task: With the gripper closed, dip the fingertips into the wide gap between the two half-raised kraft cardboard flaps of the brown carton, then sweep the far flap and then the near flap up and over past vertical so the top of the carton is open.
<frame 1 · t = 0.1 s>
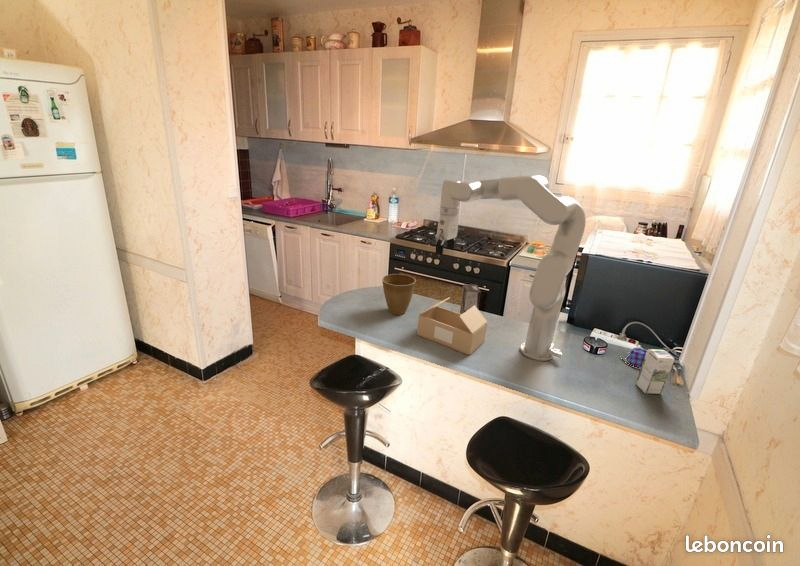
hand: (444, 251, 164), 31 cm above the countertop, tool pointing down, fingers open, 9 cm apart
far flap: (434, 305, 158), point 12 cm above the countertop, hinge at 40.0°
carton: (450, 338, 158), on the countertop
plant pot: (397, 311, 179), on the countertop
near flap: (473, 318, 149), point 12 cm above the countertop, hinge at 40.0°
syrup box: (647, 389, 134), on the countertop
purple plaid hat: (637, 363, 150), on the countertop
coffee box: (467, 321, 174), on the countertop
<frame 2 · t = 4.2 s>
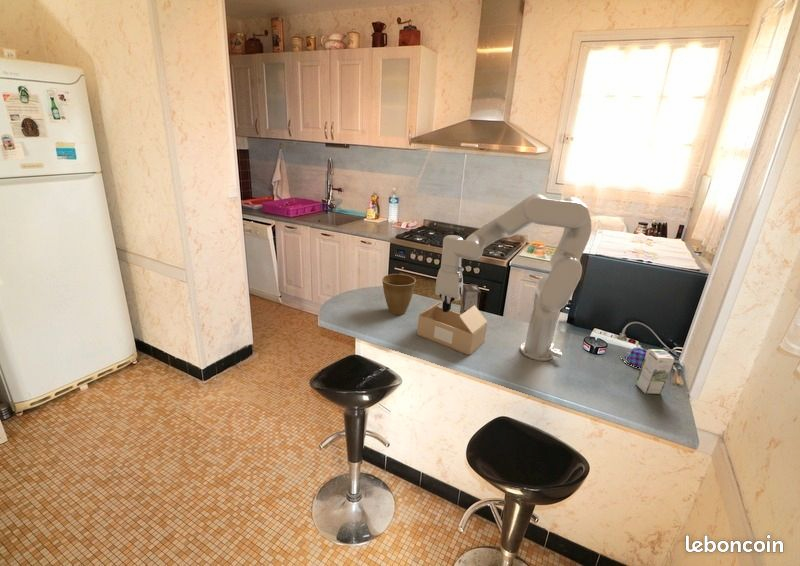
hand: (446, 310, 156), 11 cm above the countertop, tool pointing down, fingers closed
far flap: (434, 305, 158), point 12 cm above the countertop, hinge at 40.3°, touching gripper
everything else where it was.
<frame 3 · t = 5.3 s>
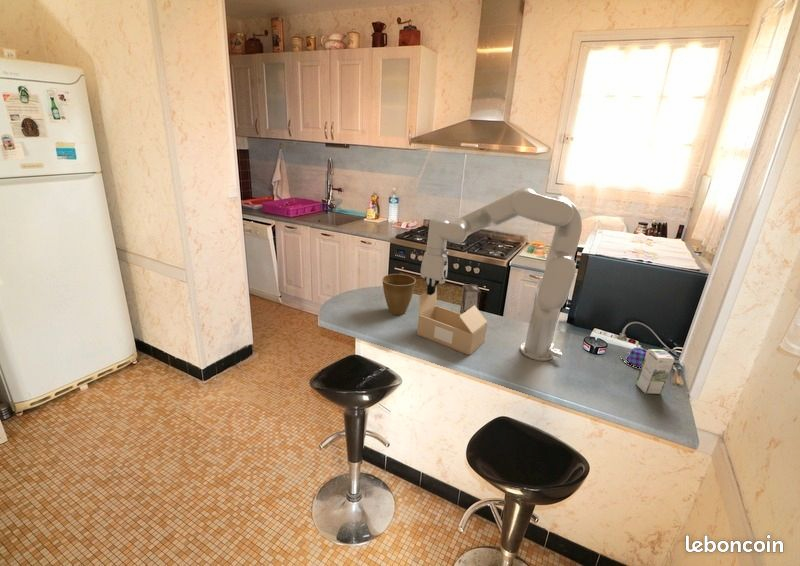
hand: (430, 293, 158), 17 cm above the countertop, tool pointing down, fingers closed
far flap: (428, 300, 160), point 13 cm above the countertop, hinge at 94.9°, touching gripper
everything else where it was.
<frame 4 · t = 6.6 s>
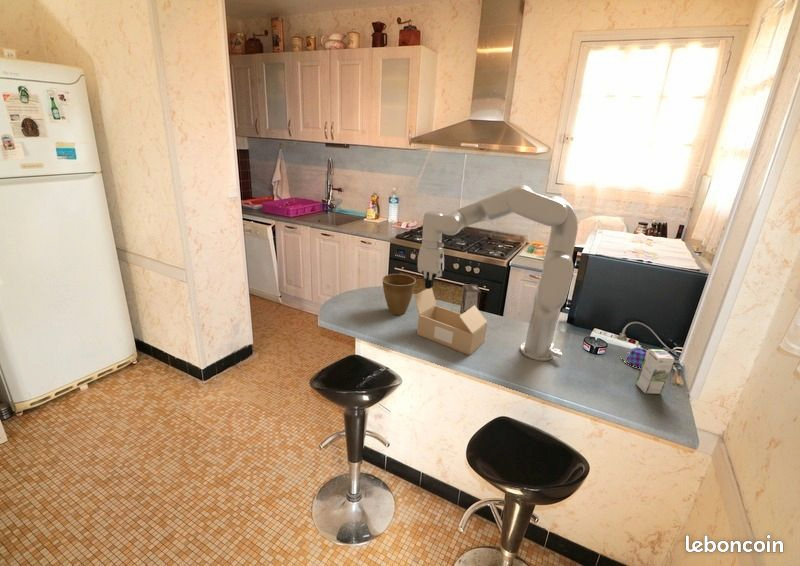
hand: (428, 287, 158), 19 cm above the countertop, tool pointing down, fingers closed
far flap: (425, 300, 160), point 13 cm above the countertop, hinge at 113.2°
everything else where it was.
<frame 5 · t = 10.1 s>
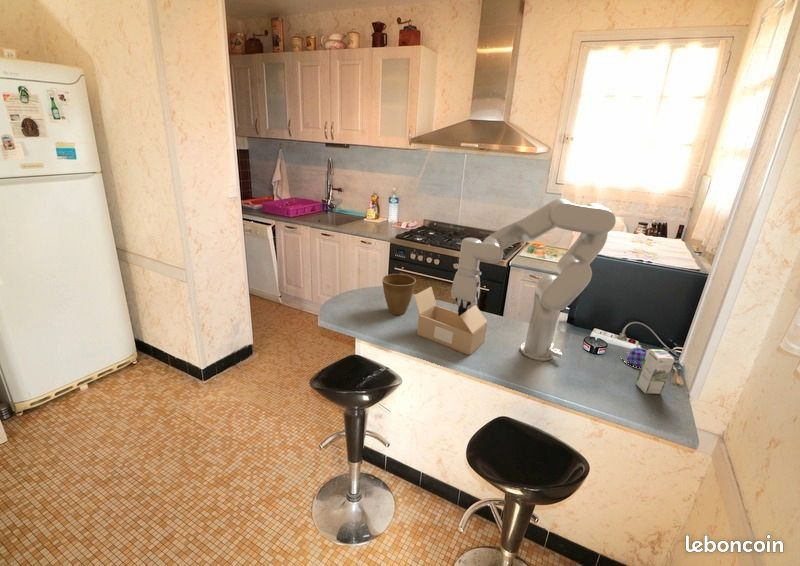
hand: (461, 315, 152), 12 cm above the countertop, tool pointing down, fingers closed
far flap: (425, 300, 160), point 13 cm above the countertop, hinge at 113.7°
near flap: (473, 318, 149), point 12 cm above the countertop, hinge at 43.5°, touching gripper
everything else where it was.
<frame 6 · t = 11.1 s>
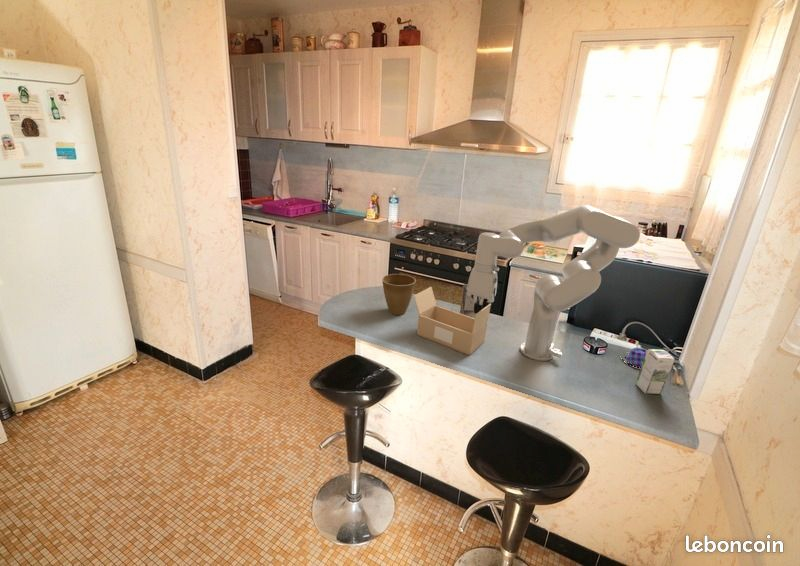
hand: (477, 312, 147), 15 cm above the countertop, tool pointing down, fingers closed
near flap: (481, 318, 147), point 13 cm above the countertop, hinge at 93.1°, touching gripper
everything else where it was.
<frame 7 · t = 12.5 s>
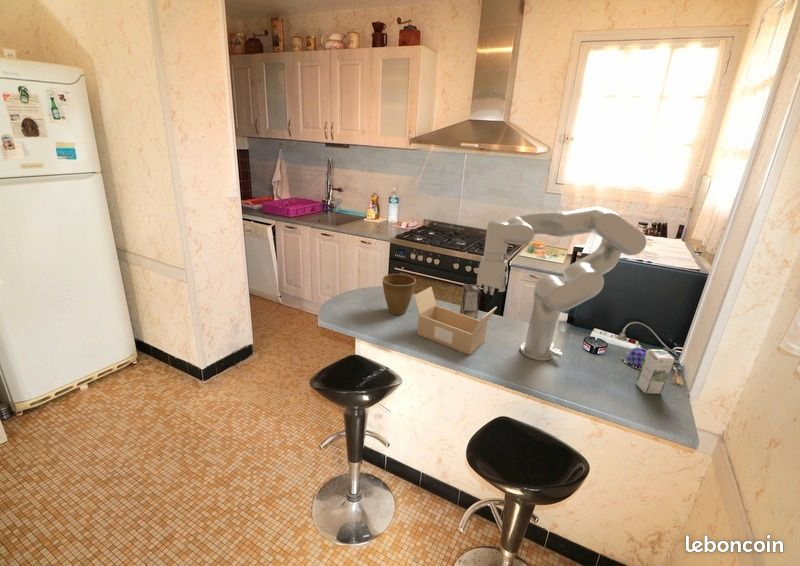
hand: (488, 302, 144), 20 cm above the countertop, tool pointing down, fingers closed
near flap: (484, 319, 146), point 13 cm above the countertop, hinge at 111.6°
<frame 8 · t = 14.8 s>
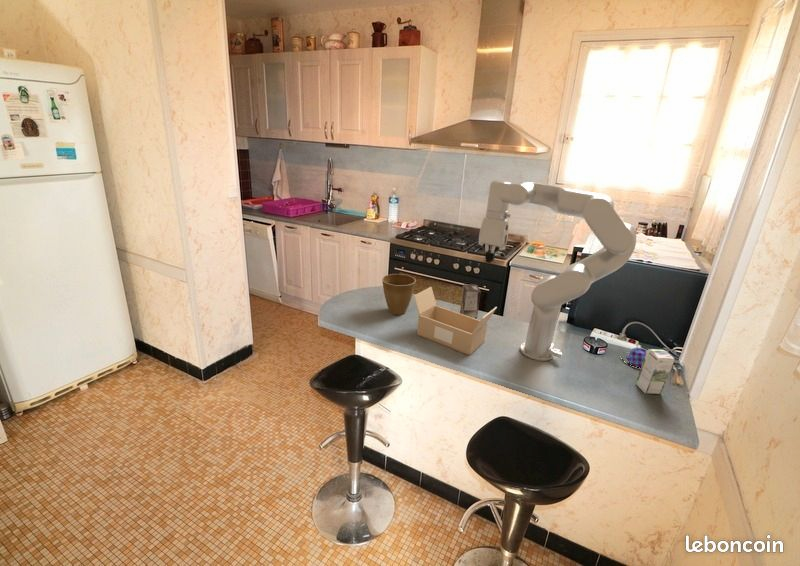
hand: (489, 261, 152), 32 cm above the countertop, tool pointing down, fingers closed
near flap: (484, 320, 146), point 13 cm above the countertop, hinge at 112.0°
at the end: far flap at +114° (first picture: +40°); near flap at +112° (first picture: +40°) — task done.
